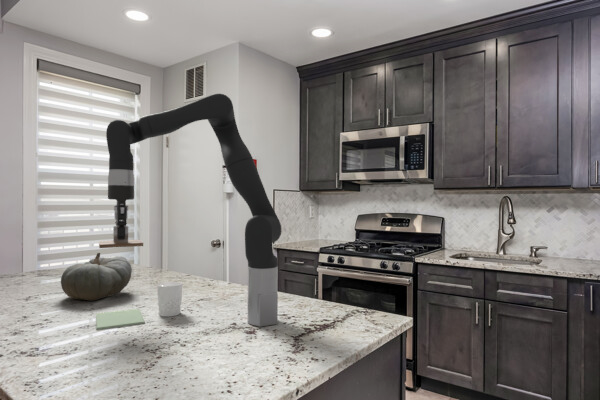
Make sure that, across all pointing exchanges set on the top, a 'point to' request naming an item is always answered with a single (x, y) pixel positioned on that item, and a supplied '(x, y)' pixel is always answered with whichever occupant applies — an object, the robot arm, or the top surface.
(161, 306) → the white cup
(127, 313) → the mat
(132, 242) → the lid
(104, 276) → the gourd
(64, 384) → the top surface
